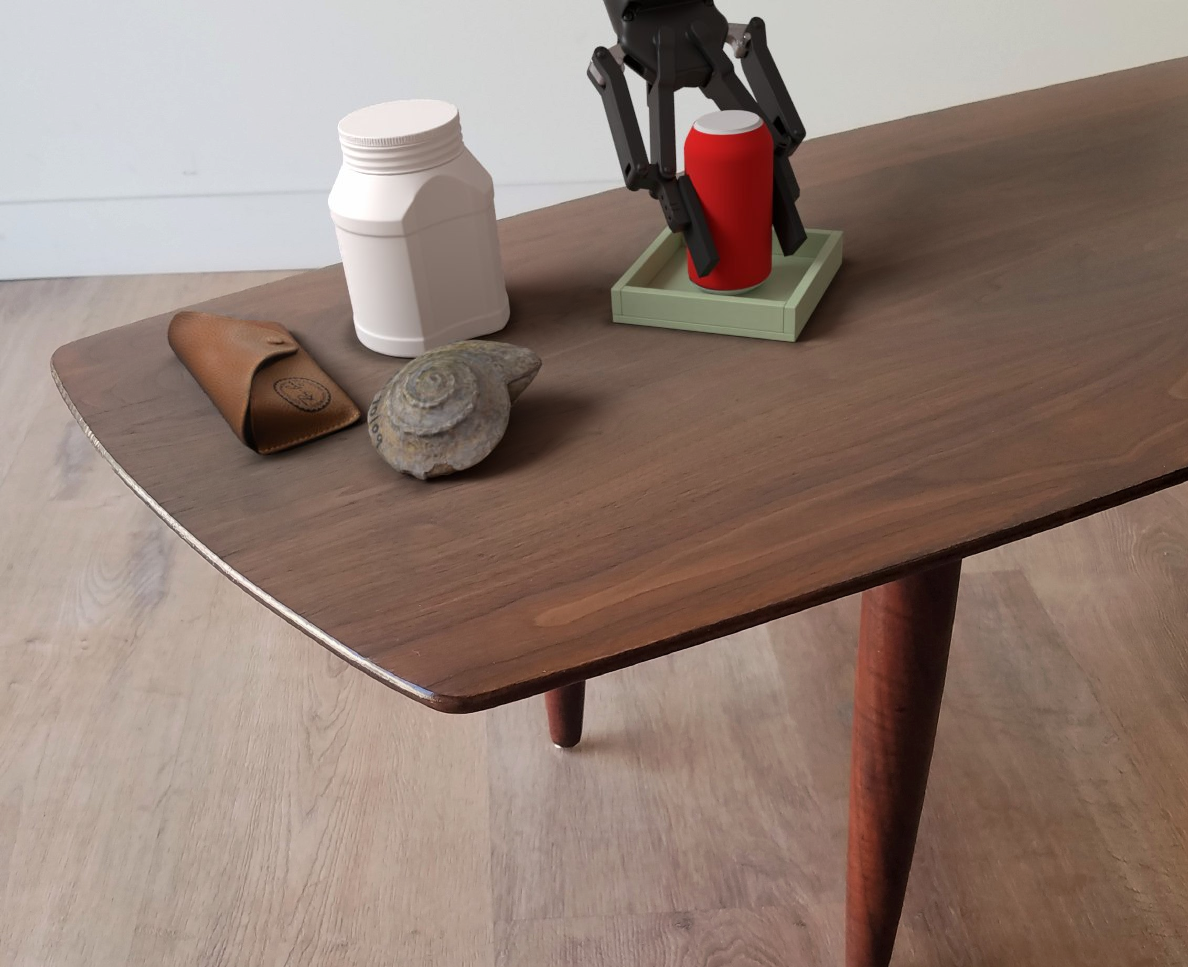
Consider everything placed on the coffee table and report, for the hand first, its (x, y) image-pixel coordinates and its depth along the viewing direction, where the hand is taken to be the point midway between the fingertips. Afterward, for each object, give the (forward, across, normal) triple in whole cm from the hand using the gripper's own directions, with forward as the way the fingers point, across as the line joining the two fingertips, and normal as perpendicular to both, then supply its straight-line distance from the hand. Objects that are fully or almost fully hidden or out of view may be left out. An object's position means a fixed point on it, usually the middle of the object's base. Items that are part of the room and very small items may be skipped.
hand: (752, 257), depth 87 cm
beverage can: (0, 0, -5) cm, 5 cm away
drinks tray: (0, 0, -5) cm, 5 cm away
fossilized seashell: (+8, +24, +2) cm, 25 cm away
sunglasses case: (-2, +35, -8) cm, 35 cm away
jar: (-4, +21, -10) cm, 24 cm away
